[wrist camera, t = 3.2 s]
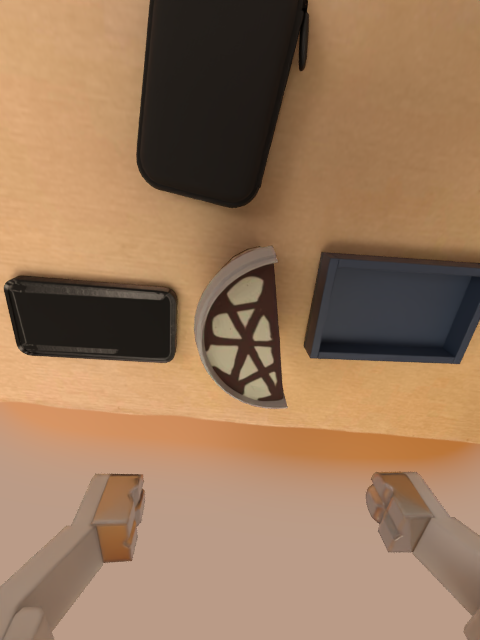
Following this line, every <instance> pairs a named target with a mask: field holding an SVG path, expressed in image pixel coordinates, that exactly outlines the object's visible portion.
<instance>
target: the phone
mask: <svg viewBox="0 0 480 640" xmlns="http://www.w3.org/2000/svg"><path fill="white" fill-rule="evenodd" d="M4 292H5V296H6V301H7V305H8V309H9V313H10V318H11V322H12V326H13V331H14V335H15V339H16V343H17V346H18V348H19V349H20V351H22V352H23V353H25V354H27V355H32V356H49V357H67V358H85V359H102V360H120V361H138V362H155V363H167V362H170V361H171V360H172V359H173V358H174V355H175V352H176V332H177V296H176V294H175V292H174V291H173V290H171V289H169V288H166V287H156V286H143V285H131V284H118V283H106V282H94V281H81V280H69V279H56V278H44V277H32V276H18V277H16V278H13V279H11V280H9V281H7V282H6V283H5V285H4Z"/></svg>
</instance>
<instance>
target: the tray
mask: <svg viewBox="0 0 480 640" xmlns="http://www.w3.org/2000/svg"><path fill="white" fill-rule="evenodd" d="M479 320H480V263H469V262H455V261H441V260H426V259H412V258H398V257H383V256H369V255H354V254H340V253H326V252H322V253H321V258H320V263H319V269H318V274H317V279H316V284H315V290H314V295H313V300H312V305H311V310H310V316H309V321H308V326H307V331H306V337H305V342H304V348H305V349H306V351H307V353H308V355H309V357H310V358H318V359H344V360H370V361H396V362H423V363H449V364H460V362H461V360H462V358H463V356H464V353H465V351H466V349H467V347H468V345H469V342H470V340H471V338H472V336H473V334H474V331H475V329H476V327H477V325H478V322H479Z"/></svg>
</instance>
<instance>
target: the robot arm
mask: <svg viewBox="0 0 480 640" xmlns="http://www.w3.org/2000/svg"><path fill="white" fill-rule="evenodd" d="M371 480H372V482H373V484H372V485H371V486H370V487H368V489H367V492H366V503H367V507H368V510H369V512H370V514H371V517H372V518H373V519H374V520H375V521H377V522H378V523H379V528H378V532H379V534H380V536H381V538H382V540H383V542H384V544H385V546H386V548H387V550H388V552H413V555H414V556H415V557H416V558H417V559H418V560H419V561H420V562H421V563H422V564H423V565H424V566H425V567H426V568H427V569H428V570H429V571H430V572H431V573H432V575H433V576H434V577H435V578H436V579H437V580H438V581H439V582H440V583H441V584H442V585H443V586H444V587H445V588H446V589H447V590H448V591H449V592H450V593H451V594H452V595H453V596H454V597H455V598H456V599H457V600H458V601H459V603H460V604H461V605H462V606H463V607H464V608H465V609H466V610H467V611H468V612H469V613H470V614H471V615H472V618H471V619H470V620H469V622H468V623H467V624H466V625H465V627H464V634H465V635H466V637H467V639H468V640H480V536H479V535H478V534H477V533H475V532H474V531H472V530H471V529H470V528H468V527H467V526H466V525H464V524H463V523H462V522H460V521H459V520H457V519H456V518H454V517H450V516H449V515H448V513H447V512H446V510H445V509H444V508H443V506H442V505H441V503H440V502H439V501H438V499H437V498H436V496H435V495H434V494H433V492H432V491H431V490H430V488H429V487H428V485H427V484H426V482H425V481H424V480H423V478H422V477H421V476H420V475H419V474H418V473H417V472H376V473H374V474H373V476H372V478H371ZM143 482H144V480H143V475H139V474H95V475H94V477H93V478H92V480H91V482H90V484H89V486H88V489H87V491H86V493H85V496H84V498H83V500H82V502H81V505H80V507H79V509H78V511H77V514H76V516H75V518H74V520H73V523H72V525H71V526H66V527H65V528H63V529H62V530H61V531H60V532H59V533H58V534H57V535H56V536H55V537H54V538H53V539H52V540H50V541H49V542H48V543H47V544H46V545H45V546H44V547H43V548H42V549H41V550H40V551H39V552H37V553H36V554H35V555H34V556H33V557H32V558H31V559H30V560H29V561H28V562H27V563H26V564H24V565H23V566H22V567H21V568H20V569H19V570H18V571H17V572H16V573H15V574H14V575H12V576H11V577H10V578H9V579H8V580H7V581H6V582H5V583H4V584H3V585H2V586H1V587H0V640H54V638H53V635H52V631H53V630H54V628H55V627H56V626H57V624H58V623H59V622H60V620H61V619H62V618H63V617H64V615H65V614H66V613H67V611H68V610H69V609H70V607H71V606H72V605H73V603H74V602H75V601H76V599H77V598H78V597H79V596H80V594H81V593H82V592H83V590H84V589H85V588H86V586H87V585H88V584H89V583H90V581H91V580H92V578H93V577H94V576H95V574H96V573H97V572H98V571H99V570H100V568H101V567H102V566H103V563H106V562H123V561H132V558H133V554H134V550H135V546H136V541H137V526H138V525H139V524H140V523H141V520H142V515H143V510H144V502H145V491H144V490H143V489H142V486H143Z"/></svg>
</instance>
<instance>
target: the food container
mask: <svg viewBox="0 0 480 640" xmlns="http://www.w3.org/2000/svg"><path fill="white" fill-rule="evenodd" d="M276 262H278V260H277V258H276V253H275V251H274V249H273V246H268V247H263V248H261V247H260V246H259V247H255V248H250V249H247V250H245V251H243V252H241V253H239V254H238V255H236V256H234V257H232V258H231V259H230V260H229V262H228V263H227V264H226V265H225V266H224V267H223V268H222V269H221V270H220V271H219V272H218V273H217V274H216V275H215V276H214V278H213V279H212V280H211V281H210V282H209V284H208V285H207V287H206V289H205V290H204V292H203V294H202V296H201V298H200V300H199V303H198V306H197V310H196V314H195V322H194V333H195V341H196V344H197V348H198V351H199V355H200V358H201V361H202V363H203V365H204V367H205V369H206V371H207V372H208V374H209V375H210V376H211V378H212V379H213V380H214V381H215V382H216V384H217V385H218V386H219V387H220V388H221V389H222V390H223V391H225V392H226V393H227V394H229V395H230V396H232V397H233V398H235V399H237V400H239V401H241V402H243V403H246V404H249V405H252V406H256V407H262V408H271V409H281V408H288V407H287V404H286V400H285V396H284V393H283V386H282V372H281V357H280V337H279V326H278V313H277V299H276V285H275V272H274V263H276Z"/></svg>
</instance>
